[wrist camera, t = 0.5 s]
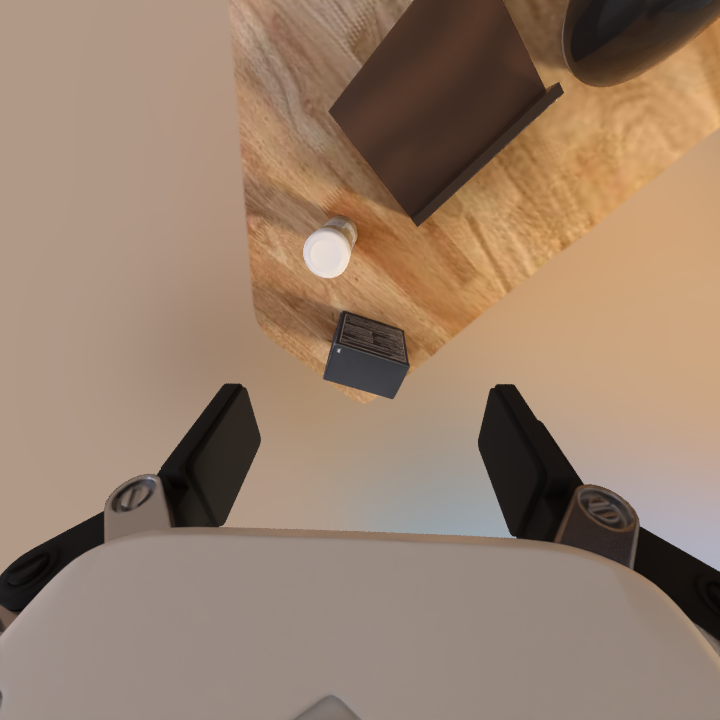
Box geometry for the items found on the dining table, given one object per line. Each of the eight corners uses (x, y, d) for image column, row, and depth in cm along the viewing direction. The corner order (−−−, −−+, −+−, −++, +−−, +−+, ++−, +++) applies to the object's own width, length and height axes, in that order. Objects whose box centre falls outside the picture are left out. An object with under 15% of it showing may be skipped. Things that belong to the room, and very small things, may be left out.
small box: (330, 344, 49) (320, 381, 40) (341, 309, 46) (332, 341, 37) (390, 362, 51) (393, 402, 42) (405, 329, 47) (411, 365, 38)
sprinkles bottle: (356, 252, 41) (347, 281, 30) (323, 249, 41) (302, 277, 30) (359, 216, 39) (350, 232, 28) (324, 212, 39) (301, 228, 28)
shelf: (334, 119, 34) (324, 106, 27) (454, -34, 28) (477, -96, 21) (411, 218, 39) (417, 227, 32) (527, 108, 32) (564, 92, 26)
